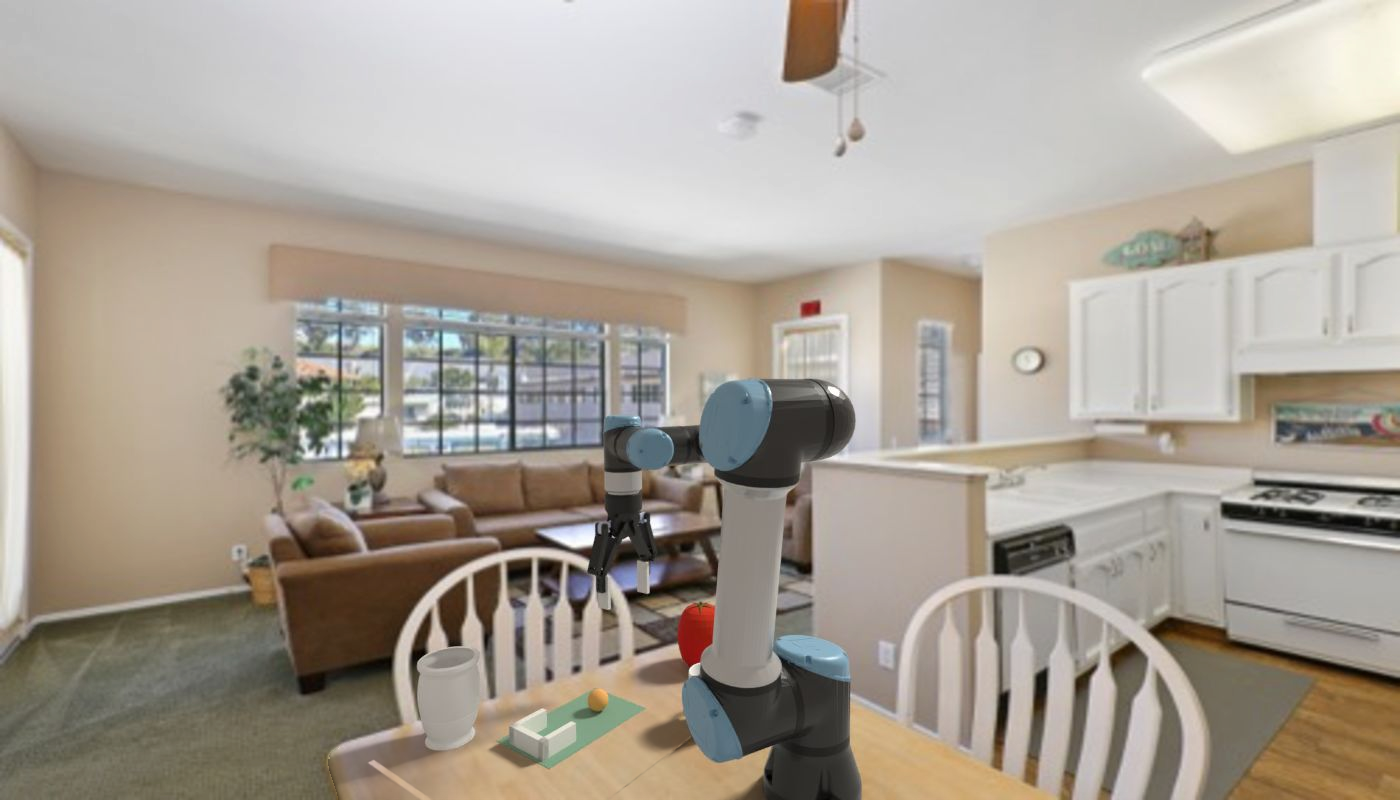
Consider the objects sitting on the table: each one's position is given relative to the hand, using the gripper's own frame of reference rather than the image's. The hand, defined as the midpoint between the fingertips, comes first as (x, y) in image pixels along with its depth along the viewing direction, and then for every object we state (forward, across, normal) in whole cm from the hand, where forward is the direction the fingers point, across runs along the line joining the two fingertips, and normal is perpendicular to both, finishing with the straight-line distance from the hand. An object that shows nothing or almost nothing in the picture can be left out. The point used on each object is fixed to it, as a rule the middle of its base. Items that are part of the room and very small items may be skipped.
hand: (624, 599), depth 130 cm
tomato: (+20, -21, +4) cm, 30 cm away
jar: (+20, +30, -15) cm, 39 cm away
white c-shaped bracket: (+19, +21, 0) cm, 29 cm away
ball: (+17, +8, 0) cm, 19 cm away
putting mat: (+20, +14, 0) cm, 24 cm away
